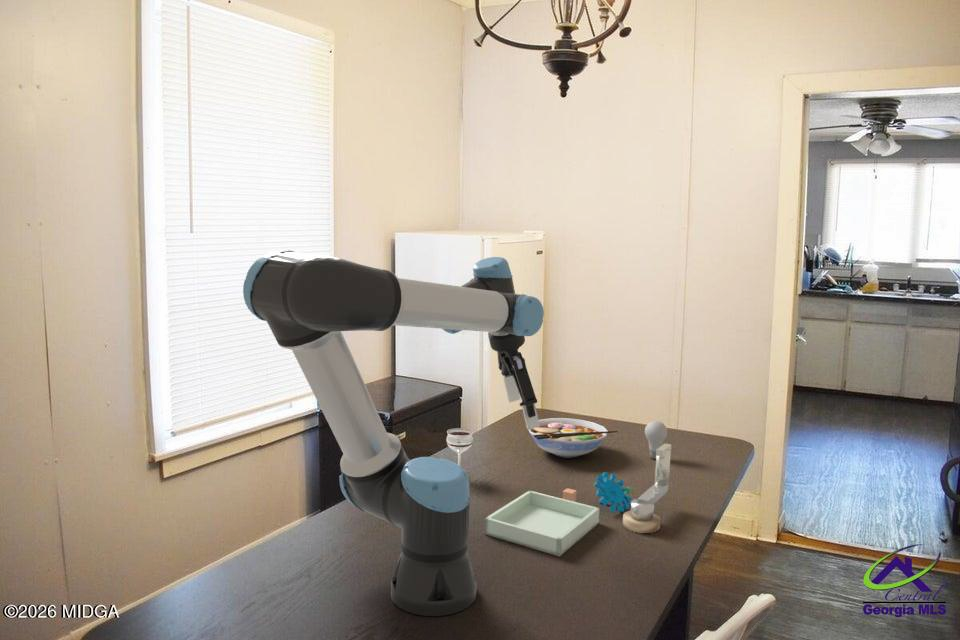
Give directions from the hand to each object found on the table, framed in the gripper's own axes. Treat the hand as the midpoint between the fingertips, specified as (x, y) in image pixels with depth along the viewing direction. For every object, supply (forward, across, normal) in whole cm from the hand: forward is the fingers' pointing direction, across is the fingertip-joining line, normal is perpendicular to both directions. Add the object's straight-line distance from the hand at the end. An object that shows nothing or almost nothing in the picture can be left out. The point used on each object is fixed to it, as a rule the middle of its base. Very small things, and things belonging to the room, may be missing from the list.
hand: (523, 413), depth 164 cm
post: (+25, -4, -5) cm, 26 cm away
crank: (+26, -12, -22) cm, 36 cm away
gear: (+28, -6, -15) cm, 32 cm away
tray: (+20, -14, +4) cm, 25 cm away
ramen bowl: (+36, +31, -16) cm, 50 cm away
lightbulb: (+41, +23, -38) cm, 61 cm away
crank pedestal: (+26, -17, -17) cm, 35 cm away
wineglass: (+24, +19, +16) cm, 34 cm away
